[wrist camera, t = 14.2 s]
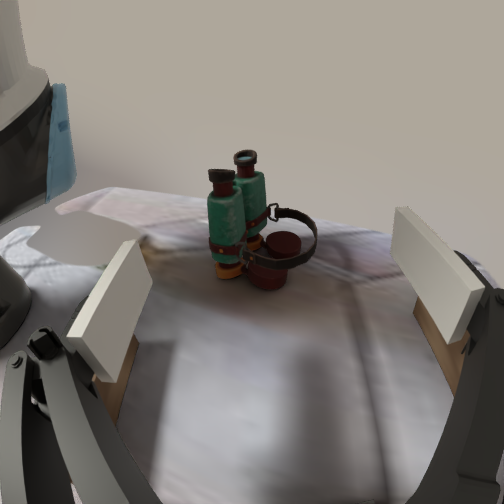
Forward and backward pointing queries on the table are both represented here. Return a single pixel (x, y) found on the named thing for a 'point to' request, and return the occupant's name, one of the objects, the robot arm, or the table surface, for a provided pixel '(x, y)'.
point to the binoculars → (250, 227)
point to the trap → (367, 502)
